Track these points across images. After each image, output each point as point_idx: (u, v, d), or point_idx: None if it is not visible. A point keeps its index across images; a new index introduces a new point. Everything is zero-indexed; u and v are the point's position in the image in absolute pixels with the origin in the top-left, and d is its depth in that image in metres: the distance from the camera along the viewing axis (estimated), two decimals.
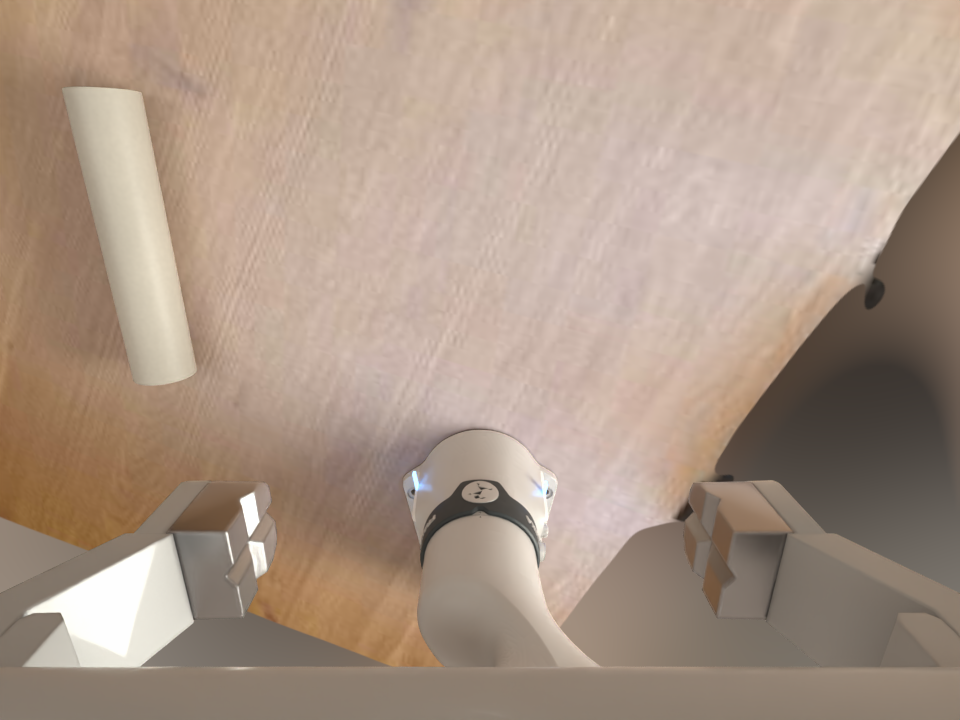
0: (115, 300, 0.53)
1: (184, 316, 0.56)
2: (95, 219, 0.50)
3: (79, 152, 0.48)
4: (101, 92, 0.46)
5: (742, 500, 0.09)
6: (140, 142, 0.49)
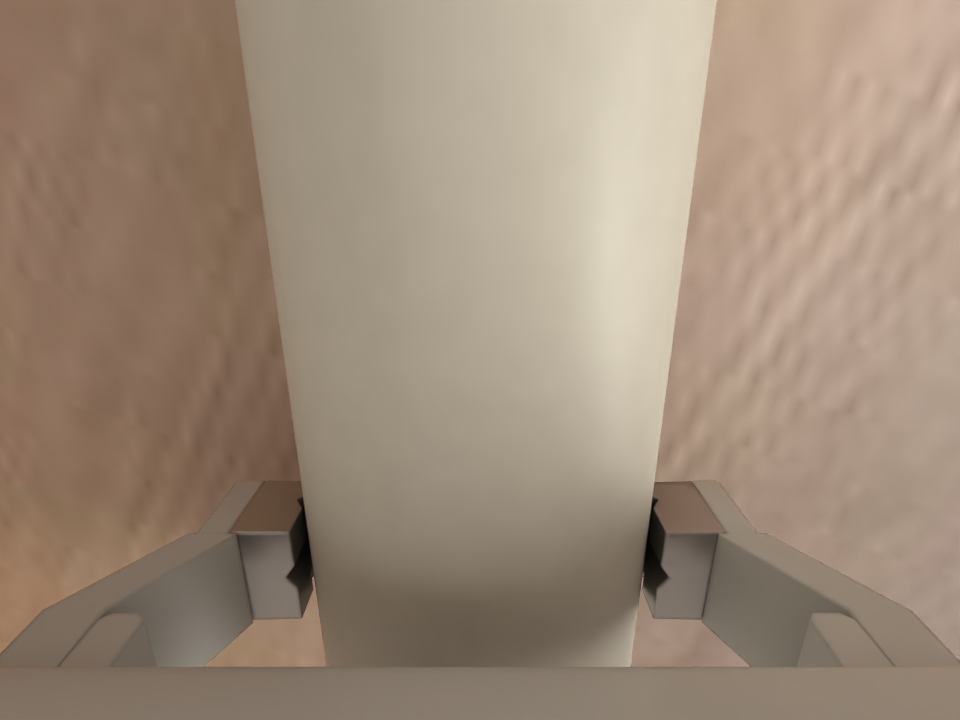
0: (312, 243, 0.06)
1: None
2: None
3: None
4: None
5: (679, 500, 0.09)
6: None
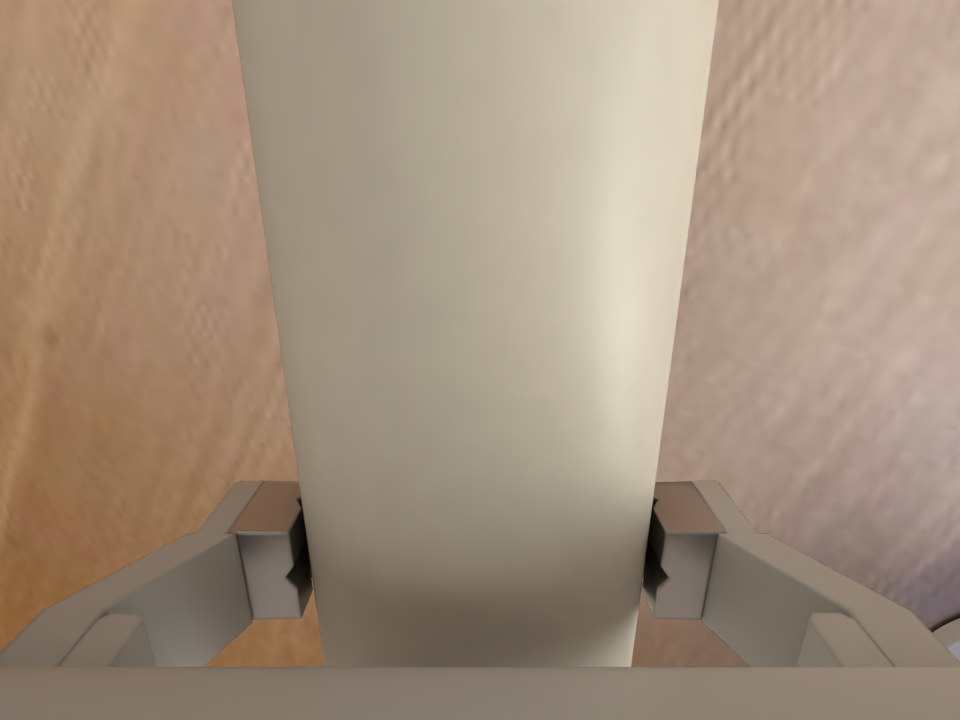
0: (309, 237, 0.06)
1: None
2: None
3: None
4: None
5: (679, 500, 0.09)
6: None
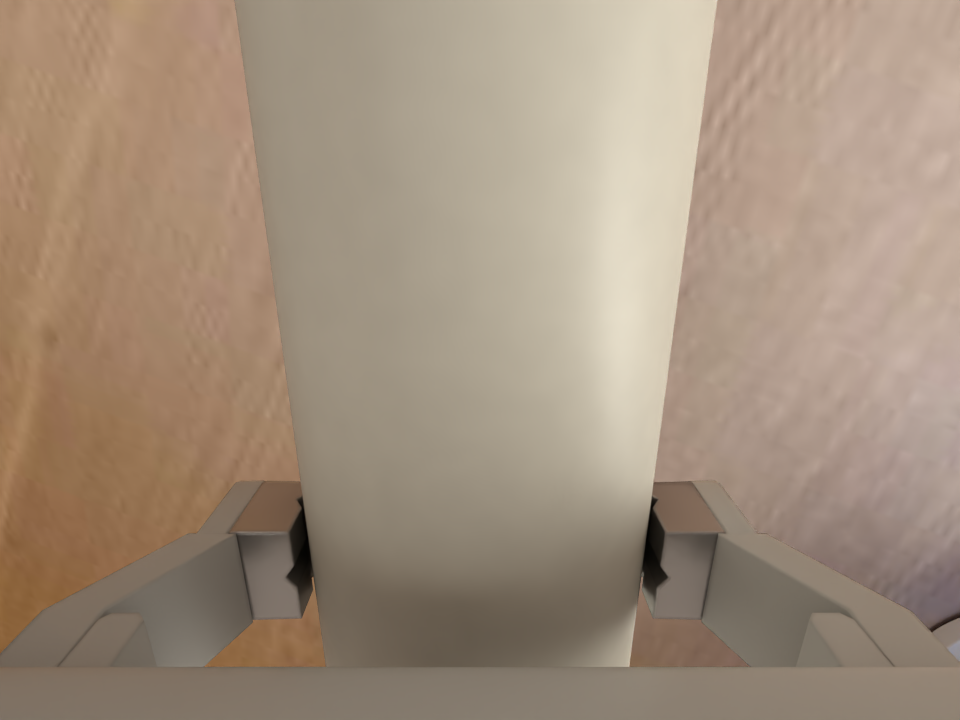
0: (311, 236, 0.06)
1: None
2: None
3: None
4: None
5: (679, 500, 0.09)
6: None
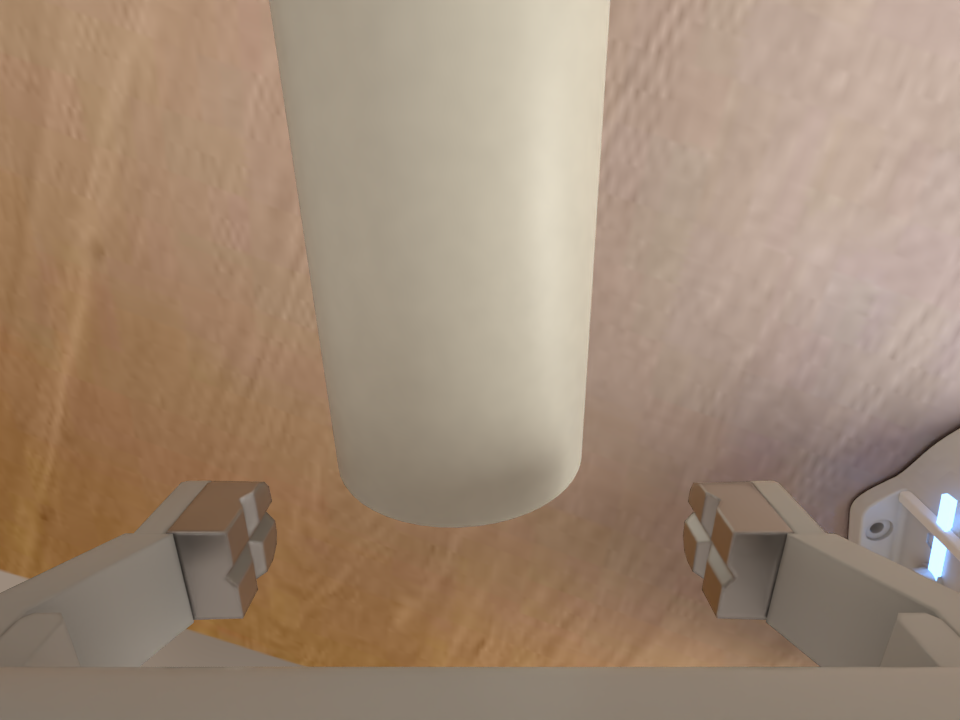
0: (313, 27, 0.08)
1: None
2: None
3: None
4: None
5: (742, 500, 0.09)
6: None
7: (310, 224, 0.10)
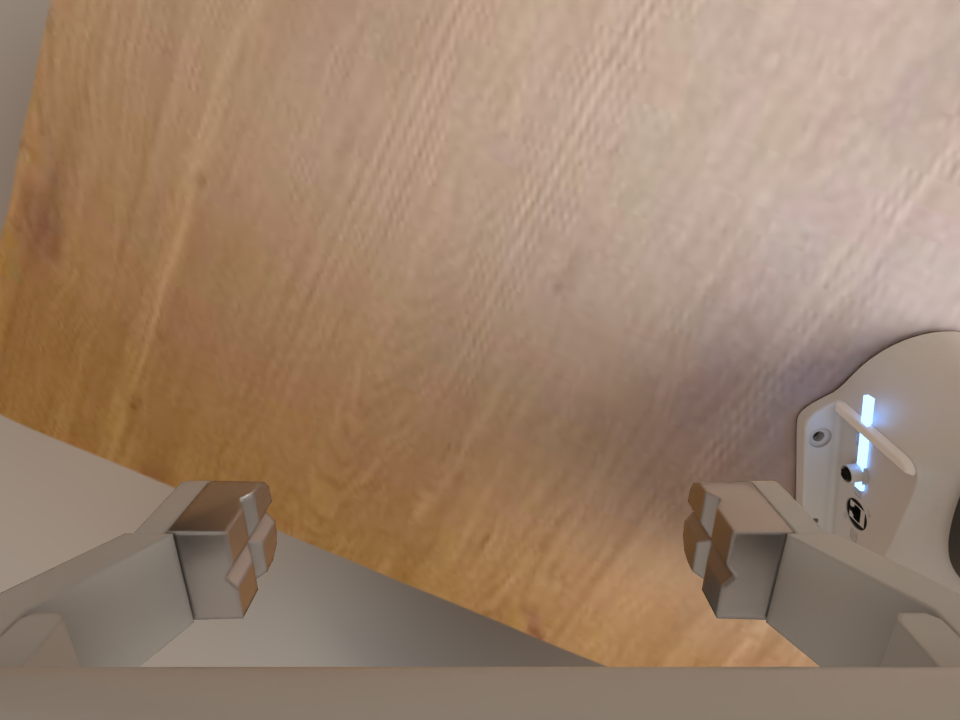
0: None
1: None
2: None
3: None
4: None
5: (742, 500, 0.09)
6: None
7: None
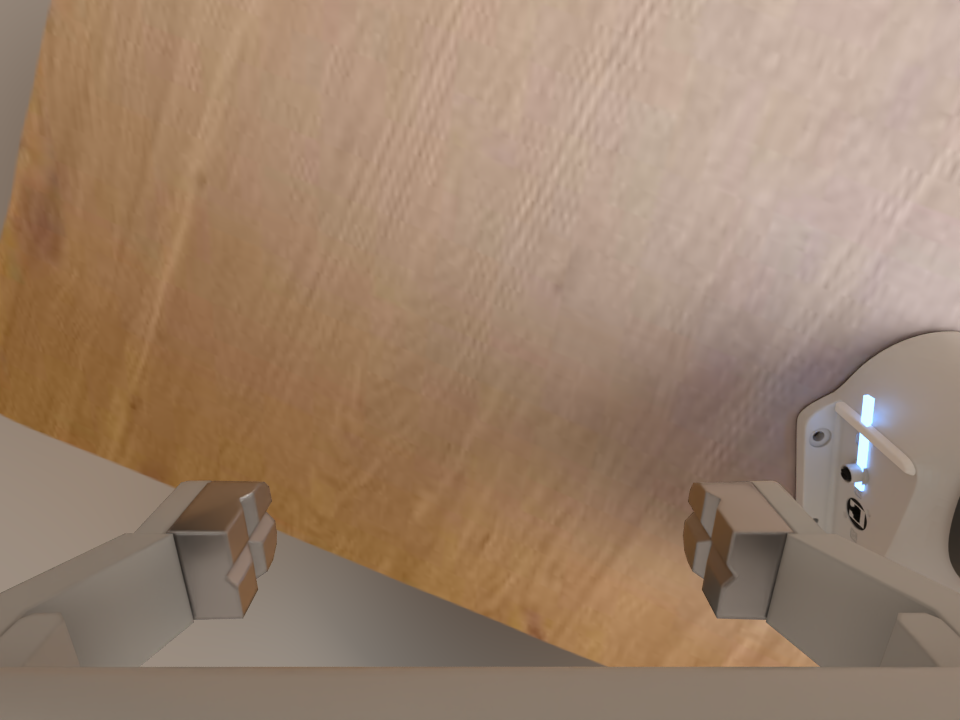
0: None
1: None
2: None
3: None
4: None
5: (742, 500, 0.09)
6: None
7: None
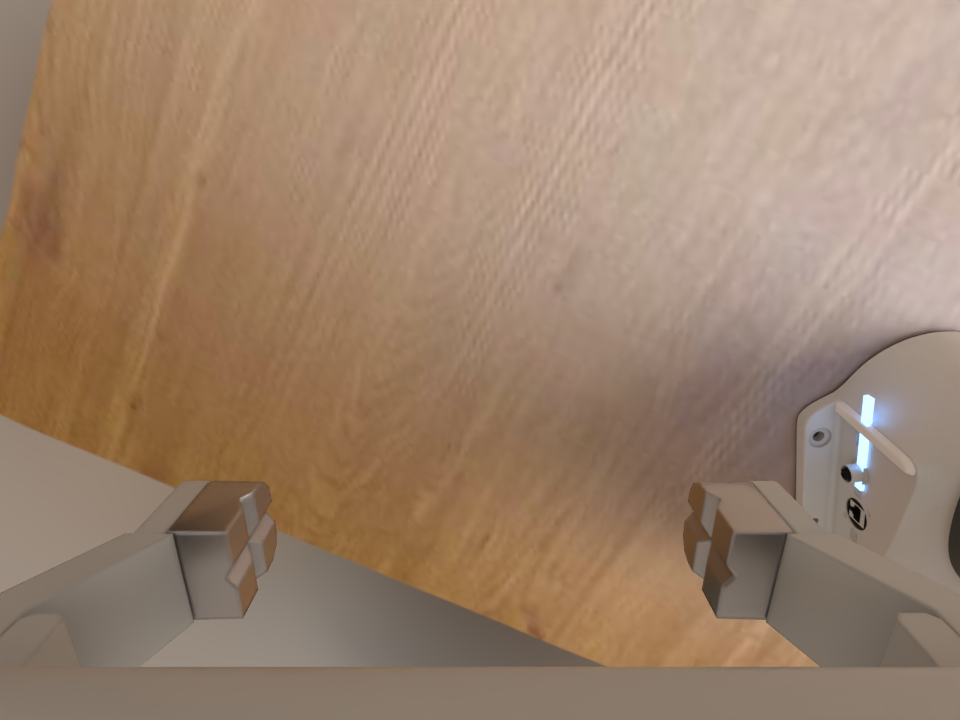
0: None
1: None
2: None
3: None
4: None
5: (742, 500, 0.09)
6: None
7: None
